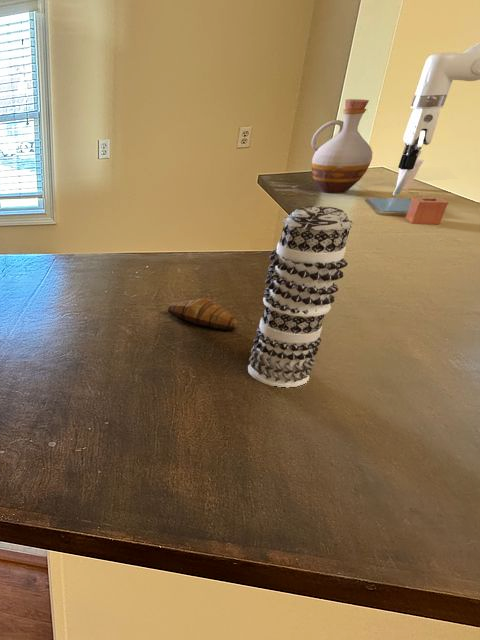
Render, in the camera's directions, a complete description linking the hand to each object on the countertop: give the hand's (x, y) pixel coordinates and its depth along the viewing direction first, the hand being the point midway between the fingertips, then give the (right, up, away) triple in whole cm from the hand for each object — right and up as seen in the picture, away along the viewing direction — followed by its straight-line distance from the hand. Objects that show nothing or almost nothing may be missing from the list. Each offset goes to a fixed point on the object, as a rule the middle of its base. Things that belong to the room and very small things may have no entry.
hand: (405, 168), depth 150 cm
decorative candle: (-84, -63, -75) cm, 129 cm away
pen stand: (-6, -20, -12) cm, 24 cm away
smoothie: (+18, +2, +23) cm, 29 cm away
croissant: (-89, -53, -58) cm, 119 cm away
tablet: (-1, -12, +1) cm, 12 cm away
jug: (-5, +2, +28) cm, 28 cm away
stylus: (0, -7, +4) cm, 9 cm away
